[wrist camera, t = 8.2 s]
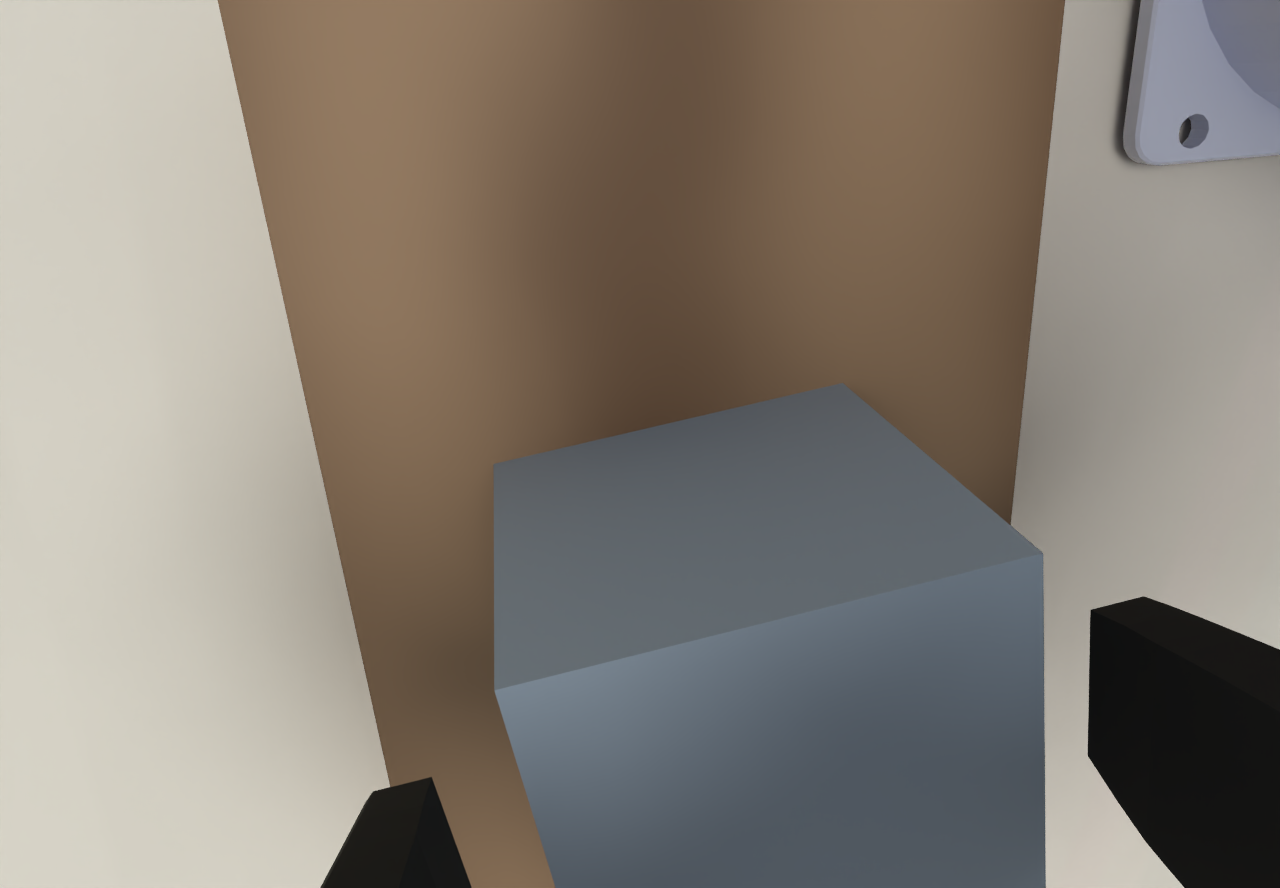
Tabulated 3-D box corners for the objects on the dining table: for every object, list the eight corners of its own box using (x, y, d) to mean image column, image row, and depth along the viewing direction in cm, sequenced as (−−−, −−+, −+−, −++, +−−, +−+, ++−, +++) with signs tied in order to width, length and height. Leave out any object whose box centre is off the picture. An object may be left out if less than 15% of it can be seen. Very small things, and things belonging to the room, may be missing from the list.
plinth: (954, -24, 14) (1070, -51, 11) (904, 789, 20) (970, 903, 17) (277, 16, 13) (217, -3, 10) (446, 867, 19) (437, 1003, 16)
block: (842, 382, 13) (1043, 553, 8) (871, 668, 15) (1045, 936, 10) (493, 464, 12) (495, 690, 8) (571, 745, 14) (608, 1059, 10)
